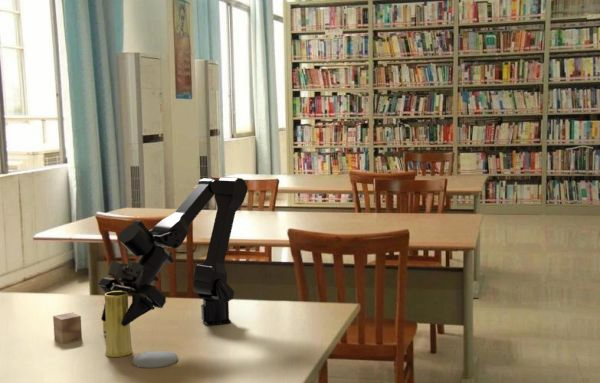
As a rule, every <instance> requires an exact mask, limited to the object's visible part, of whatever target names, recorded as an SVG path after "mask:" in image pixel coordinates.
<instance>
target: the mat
mask: <svg viewBox="0 0 600 383" xmlns="http://www.w3.org/2000/svg"><path fill="white" fill-rule="evenodd" d="M178 359H179V357H178V354H177V353H176V352H171V351H165V350H164V351H163V350H160V351H159V350H156V351H155V350H154V351H149V352H143V353H141V354H137V355H136V356H134V357H133V358H132V364H134V365H133V366H135V365H136V366H135V367H137V366H139V367H138V368H141V367H146V368H145V369H157V368H158V367H159V368H165V367H167V366H171V365H174V364H175V363H177V361H178Z"/></svg>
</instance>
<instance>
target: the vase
mask: <svg viewBox="0 0 600 383" xmlns="http://www.w3.org/2000/svg"><path fill="white" fill-rule="evenodd" d="M104 302H105V315H106V336H105V356H107V357H109V358H119V357H120V358H122V357H126V356H129V355H130V354H132V353H133V348H132V339H131V338H132V335H131V325H130V324H131V322H130V323H129V324H127V325H126V326H123V325H122V324H121V322H122V320H123V318H124V316H125V314H126V312H127V311H128V309H129V295H128V293H127V292H126V291H112V292H108V293H106V294H105V293H104Z"/></svg>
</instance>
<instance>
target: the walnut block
mask: <svg viewBox="0 0 600 383" xmlns="http://www.w3.org/2000/svg"><path fill="white" fill-rule="evenodd" d="M52 319H53V336H54V340H56V341H57V342H59V343H60V344H66V343H70V342H72V343H73V342H77V341H79V340H80V341H81V340H83V335H82V316H81V315H80V314H77V313H74V312H67V313H62V314H55V315H53V316H52Z"/></svg>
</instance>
